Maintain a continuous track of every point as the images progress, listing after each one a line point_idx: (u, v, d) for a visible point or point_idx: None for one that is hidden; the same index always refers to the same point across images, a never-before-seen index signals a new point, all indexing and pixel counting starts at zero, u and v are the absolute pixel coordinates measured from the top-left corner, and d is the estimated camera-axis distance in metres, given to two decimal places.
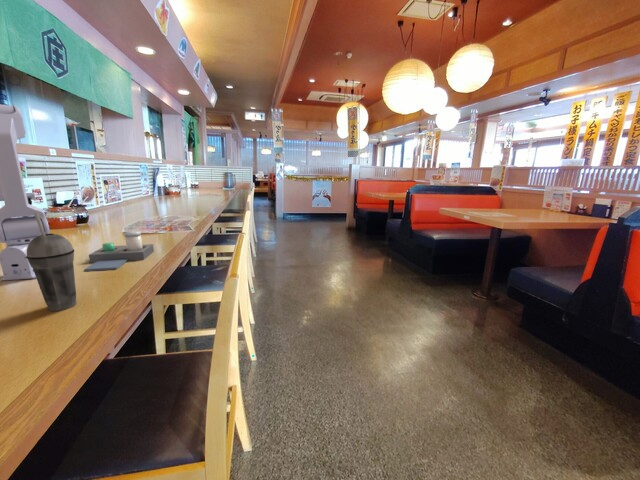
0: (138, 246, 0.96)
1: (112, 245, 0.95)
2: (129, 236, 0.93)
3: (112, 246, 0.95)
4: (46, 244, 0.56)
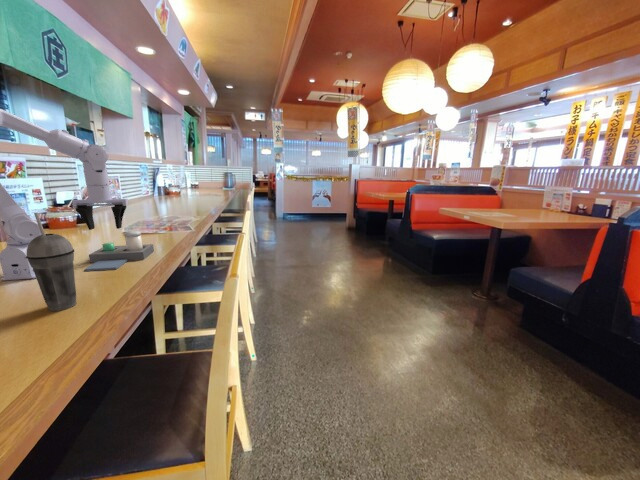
0: (138, 246, 0.96)
1: (112, 245, 0.95)
2: (129, 236, 0.93)
3: (112, 246, 0.95)
4: (46, 244, 0.56)
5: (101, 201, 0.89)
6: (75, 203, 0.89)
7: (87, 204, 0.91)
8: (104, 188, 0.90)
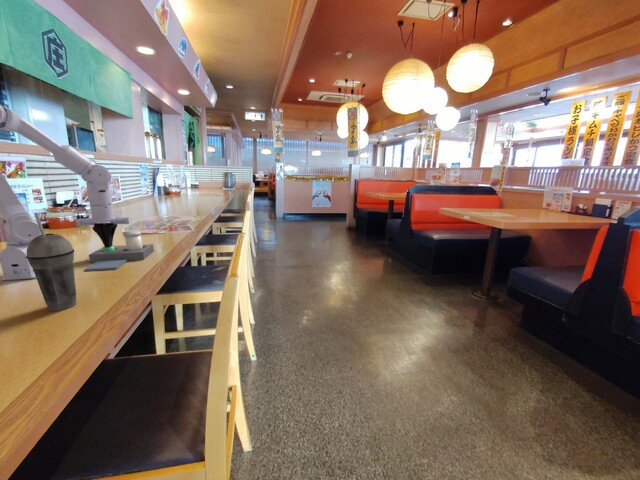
0: (138, 246, 0.96)
1: (112, 248, 0.95)
2: (129, 236, 0.93)
3: (112, 249, 0.95)
4: (46, 244, 0.56)
5: (104, 220, 0.90)
6: (79, 222, 0.91)
7: (90, 223, 0.92)
8: (107, 207, 0.91)
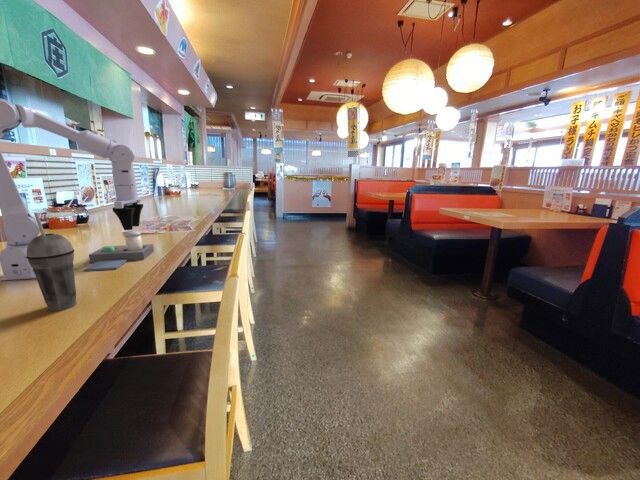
0: (138, 246, 0.96)
1: (113, 248, 0.95)
2: (129, 236, 0.93)
3: (113, 249, 0.95)
4: (46, 244, 0.56)
5: (116, 200, 0.91)
6: None
7: None
8: (116, 188, 0.90)
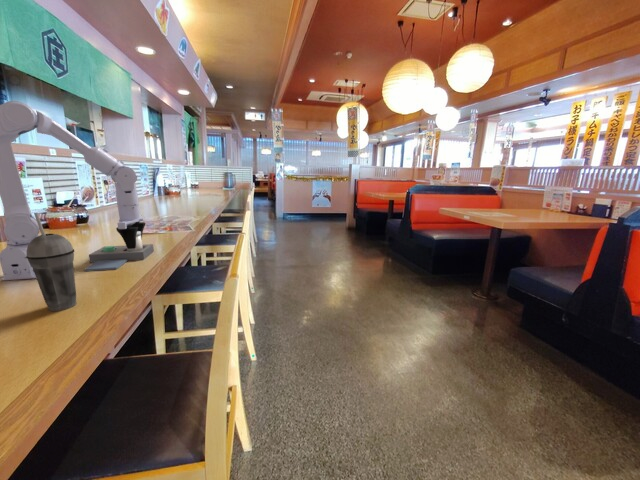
0: (138, 246, 0.96)
1: (113, 248, 0.95)
2: None
3: (113, 249, 0.95)
4: (46, 244, 0.56)
5: (119, 220, 0.93)
6: None
7: None
8: (119, 208, 0.91)
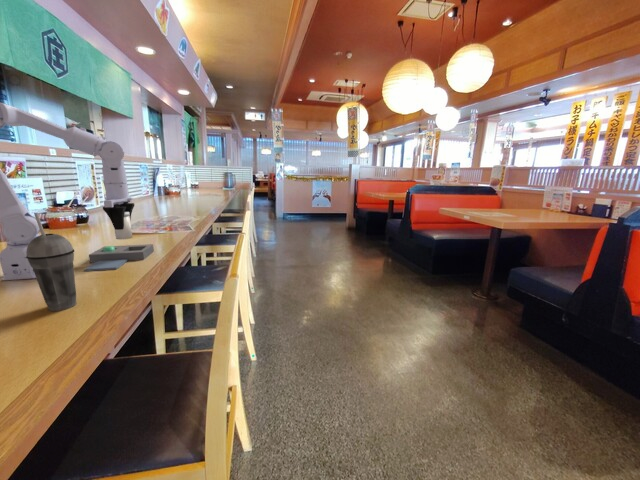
0: (127, 227, 0.91)
1: (113, 248, 0.95)
2: None
3: (113, 249, 0.95)
4: (46, 244, 0.56)
5: (106, 199, 0.88)
6: None
7: None
8: (106, 186, 0.86)
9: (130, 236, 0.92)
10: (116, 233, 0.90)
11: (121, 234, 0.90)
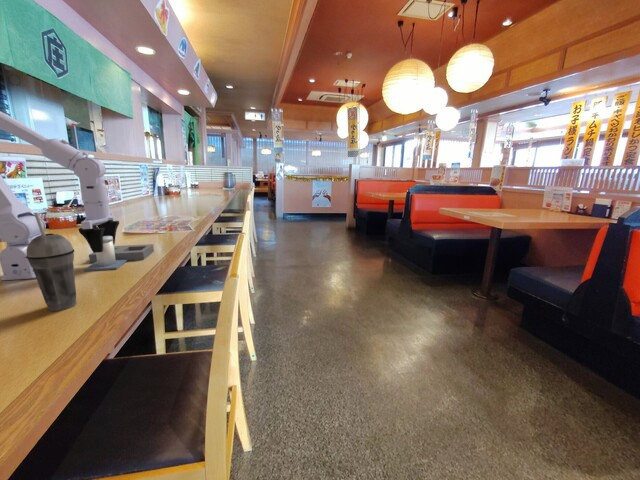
0: (110, 253, 0.85)
1: None
2: None
3: None
4: (46, 244, 0.56)
5: (85, 219, 0.82)
6: None
7: None
8: (85, 206, 0.81)
9: (113, 262, 0.87)
10: (98, 259, 0.85)
11: (104, 260, 0.85)
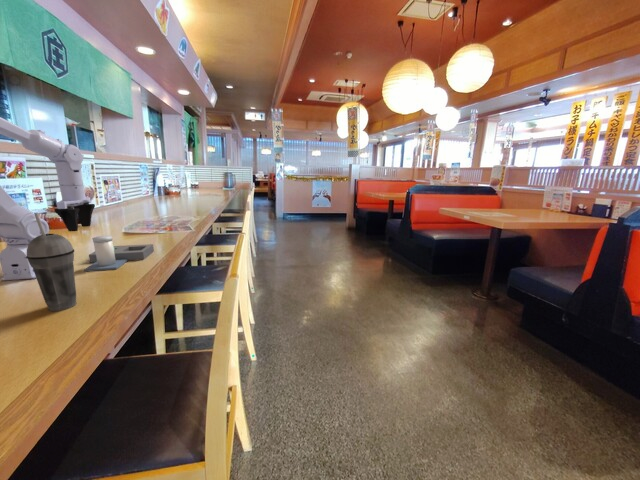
0: (110, 253, 0.86)
1: None
2: (98, 242, 0.83)
3: None
4: (46, 244, 0.56)
5: None
6: None
7: None
8: (61, 188, 0.88)
9: (113, 262, 0.87)
10: (98, 259, 0.85)
11: (104, 260, 0.85)
